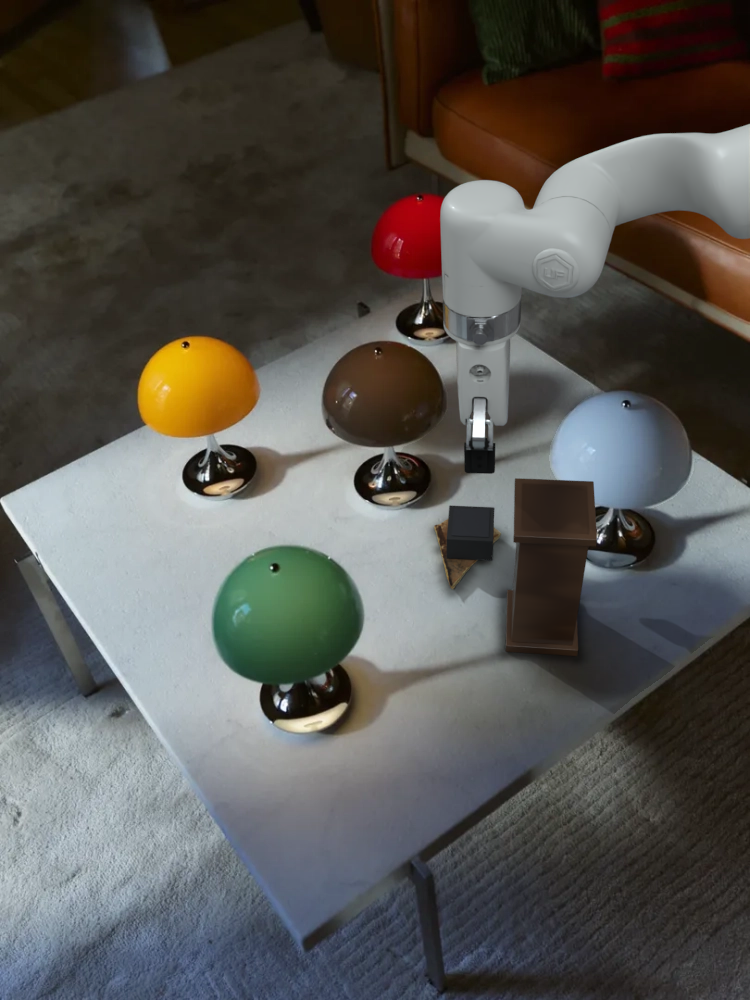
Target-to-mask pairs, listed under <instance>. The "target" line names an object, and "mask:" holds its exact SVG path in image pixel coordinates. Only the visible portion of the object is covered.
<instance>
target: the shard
mask: <svg viewBox="0 0 750 1000" xmlns="http://www.w3.org/2000/svg"><path fill="white" fill-rule="evenodd" d="M447 528H448V518H447V519H445V520H443V521H442V522H441V523H438V524H435V525H434V527H433V529H434V532H435V535H436V538H437V542H438V546H439V550H440V555H441V559H442V563H443V567H444V571H445V576H446V580H447V582H448V585H449V588H451V590H455V588H456V586H457V585H458V584H459V583H460V582H461V580H462V579H463V577H464V576H465V574H467V572H468V571H469V570H470V569H471V567H472V566H473V565H474V564H476V563H477V561H478V560H470V559H451V558H447ZM501 536H502V533H501V531H500V530H498V529H497V528H495V527H494V536H493V545H494V544H495V543H496V542H497V541H498V540H499V539H500V537H501Z"/></svg>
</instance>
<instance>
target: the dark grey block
mask: <svg viewBox="0 0 750 1000" xmlns="http://www.w3.org/2000/svg"><path fill="white" fill-rule="evenodd" d="M495 511H496V510H495V507H494V506H474V505H473V506H471V505H449V506H448V518H447V519H448V528H447V558H451V559H470V560H477V561H493V555H494V544H493V536H494V528H495Z"/></svg>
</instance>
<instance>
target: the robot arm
mask: <svg viewBox="0 0 750 1000" xmlns="http://www.w3.org/2000/svg"><path fill="white" fill-rule="evenodd" d="M674 211H675V212H676V211H685V212H692V213H695V214H696V213H697V214H699V215H702V216H705V217H706V218H708V219H710V220H711V221H712V222H713V223H715V224H717V225H718V226H719V227H720V228H721V229H722V230H723V232H725V233H726V234H727V235H729V236H730V237H732V238H735V239H739V240H740V239H741V240H748V239H750V123H748V124H745V125H743V126H742V125H741V126H739V127H735V128H733V129H730V130H726V131H722V132H717V133H705V132H676V133H675V132H674V133H673V132H672V133H671V132H670V133H653V134H647V135H646V134H645V135H641V136H638V137H634V138H631V139H627V140H624V141H621V142H617V143H615V144H612V145H609V146H607V147H604V148H601V149H599V150H595V151H593V152H590V153H588V154H585V155H582V156H580V157H578V158H575V159H573V160H571V161H568V162H567V163H565V164H564V165H562V166H560V167H559V168H558V169H557V170H555V171H554V172H553V173H552V174H551V175H550V176H549V177H548V178H547V179H546V180H545V182H544V183H543V184H542V187H541V189H540V191H539V193H538V195H537V196H536V199H535V202H534V205H533V206H532V208H531V209H527V208H526V207H525V203H524V200H523V198H522V196H521V194H520V193H519V192H518V190H517V189H515V188H514V187H512V186H511V185H509V184H507V183H505V182H502V181H499V180H491V179H479V180H472V181H467V182H464V183H462V184H459V185H457V186H455V187H454V188H453V189H451V190H450V191H449V192H448V193H447V194H446V195H445V196H444V198H443V200H442V203H441V206H440V217H439V223H440V252H441V253H440V254H441V258H440V259H441V280H442V281H441V282H442V318H443V319H442V321H443V329H444V331H445V333H446V335H447V336H448V337H450V338H451V339H452V340H454V341H455V356H456V360H455V361H456V380H457V384H456V385H457V397H458V398H457V399H458V410H459V420H460V423H462V424H463V425H464V426H466V429H465V431H466V432H465V433H466V435H465V436H466V439H465V441H464V443H463V452H464V453H463V454H464V455H463V457H464V460H463V461H464V463H463V466H464V468H463V469H464V473H466V474H484V475H485V474H486V475H487V474H488V475H489V474H490V475H493V474H494V473H495V472H496V442H494V426H496V427H498V426H499V427H500V426H501V427H504V426H505V425H506V424H507V423H508V420H509V419H508V417H509V396H510V374H511V372H510V371H511V339H512V338H513V337H514V336H516V334H517V333H518V332H519V330H520V328H521V323H522V322H521V321H522V297H523V296H522V295H523V291H522V290H523V289H526V290H529V291H531V292H534V293H537V294H541V295H544V296H547V297H552V298H557V299H569V298H570V299H571V298H575V297H578V296H581V295H583V294H586V293H587V292H589V291H590V290H591V289H592V288H593V287H594V286H595V284H596V283H597V282H598V281H599V278H600V276H601V274H602V272H603V270H604V266H605V262H606V259H607V256H608V252H609V249H610V244H611V242H612V238H613V234H614V231H615V228H616V227H617V226H620V225H622V224H625V223H628V222H631V221H635V220H638V219H641V218H645V217H647V216H652V215H655V214H660V213H666V212H674ZM522 288H523V289H522ZM487 414H488V415H489V418H486V417H487ZM471 417H472V418H471ZM486 426H488V427H487V437H486Z"/></svg>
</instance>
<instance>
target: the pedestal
mask: <svg viewBox="0 0 750 1000" xmlns="http://www.w3.org/2000/svg"><path fill="white" fill-rule="evenodd" d="M513 496H514V497H513V503H514V504H513V538H512V539H513V540H512V541H513V543H514V544H515V555H514V568H513V579H512V580H513V581H512V582H513V583H512V589H507V590H506V612H505V613H506V616H505V617H506V619H505V652H506V653H520V654H534V655H535V654H537V655H551V656H552V655H553V656H569V657H570V656H571V657H578V653H579V637H578V636H579V635H578V615H579V608H580V601H581V596H582V589H583V584H584V578H585V572H586V566H587V559H588V553H589V548H590V547H596V546H597V543H598V533H597V532H598V531H597V517H596V516H597V515H596V497H595V483H594V481H589V480H572V479H571V480H570V479H569V480H568V479H547V478H546V479H545V478H544V479H543V478H520V477H519V478H514V495H513Z"/></svg>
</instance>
